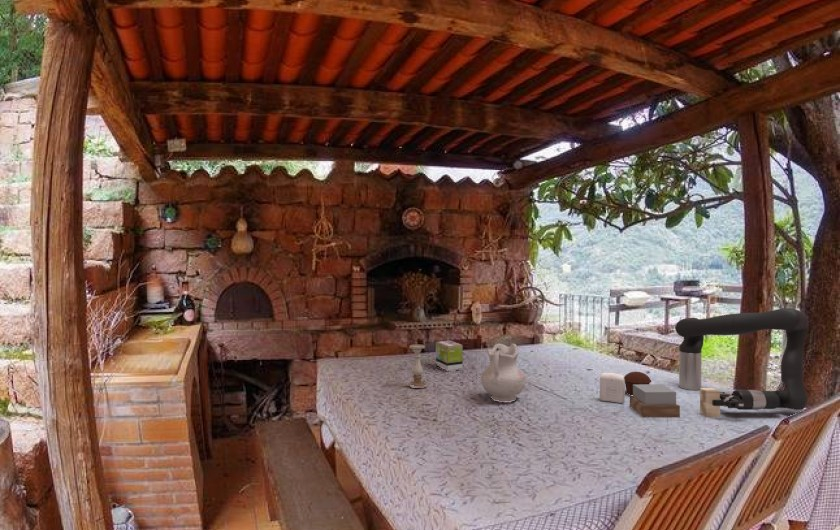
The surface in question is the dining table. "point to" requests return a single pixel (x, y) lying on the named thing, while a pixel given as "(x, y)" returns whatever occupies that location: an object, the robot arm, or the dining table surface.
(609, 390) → the photo printer
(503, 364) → the ceramic pitcher
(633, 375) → the muffin
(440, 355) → the tea box
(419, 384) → the candle holder
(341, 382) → the dining table surface
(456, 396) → the dining table surface
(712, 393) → the birch pillar block
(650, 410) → the walnut base block
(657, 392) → the slate top block
